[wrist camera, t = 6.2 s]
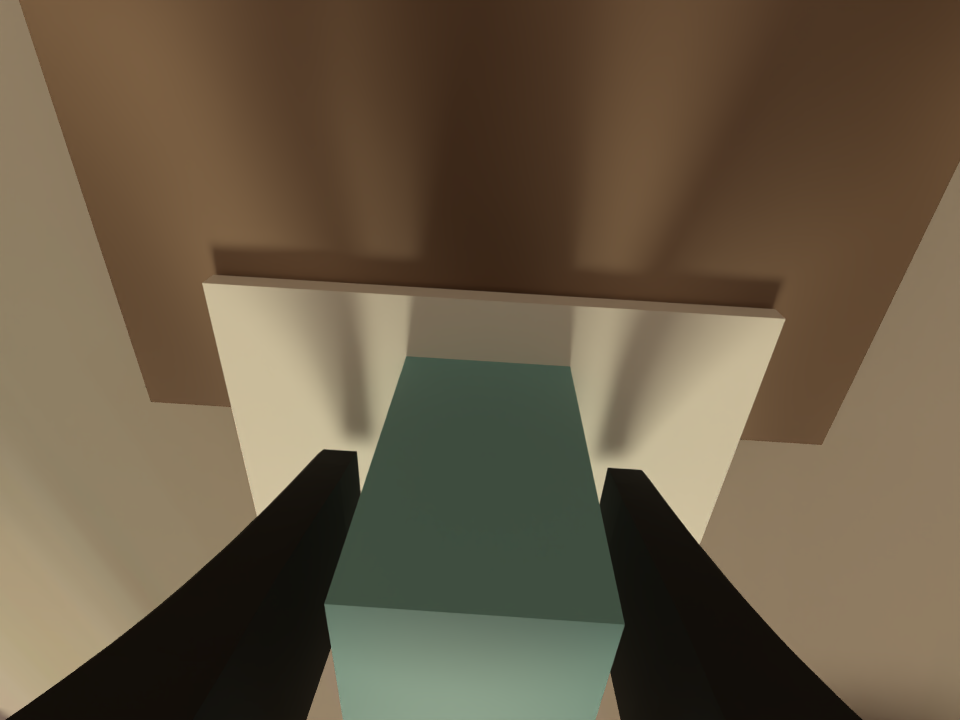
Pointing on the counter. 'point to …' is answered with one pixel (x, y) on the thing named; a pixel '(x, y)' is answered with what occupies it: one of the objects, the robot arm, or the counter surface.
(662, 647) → the robot arm
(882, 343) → the counter surface
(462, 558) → the cream plaque with block
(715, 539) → the counter surface
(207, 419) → the counter surface
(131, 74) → the board
